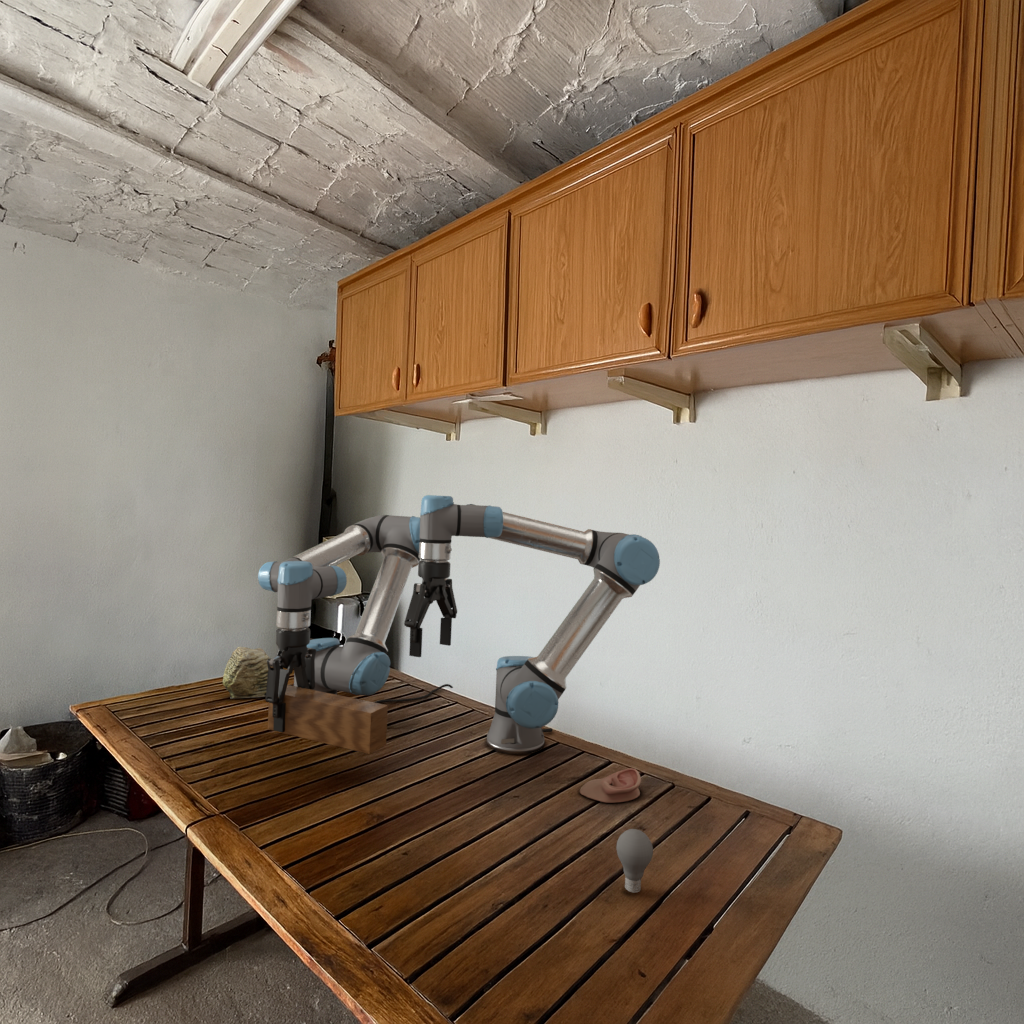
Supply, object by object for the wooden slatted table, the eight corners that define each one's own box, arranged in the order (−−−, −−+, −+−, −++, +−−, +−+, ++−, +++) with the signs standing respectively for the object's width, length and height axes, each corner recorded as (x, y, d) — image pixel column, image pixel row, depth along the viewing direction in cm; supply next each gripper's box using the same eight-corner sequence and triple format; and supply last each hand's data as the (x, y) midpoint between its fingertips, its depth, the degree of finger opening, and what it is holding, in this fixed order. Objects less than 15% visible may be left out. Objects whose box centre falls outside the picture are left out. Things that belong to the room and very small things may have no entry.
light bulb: (610, 879, 108) (613, 822, 108) (644, 879, 109) (647, 822, 109) (619, 902, 102) (622, 840, 102) (655, 901, 103) (658, 840, 103)
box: (267, 729, 147) (268, 691, 147) (286, 721, 152) (288, 684, 152) (369, 754, 135) (371, 713, 135) (386, 744, 141) (387, 705, 141)
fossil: (218, 695, 195) (220, 647, 195) (278, 685, 208) (279, 640, 207) (228, 703, 189) (230, 653, 188) (289, 692, 201) (290, 645, 201)
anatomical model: (578, 780, 137) (583, 760, 149) (577, 799, 137) (582, 776, 149) (641, 789, 135) (641, 767, 146) (640, 807, 135) (640, 784, 146)
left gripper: (275, 637, 137) (271, 743, 138) (333, 623, 155) (329, 716, 155) (249, 633, 140) (245, 736, 141) (309, 619, 158) (305, 711, 158)
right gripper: (419, 566, 136) (415, 664, 137) (473, 558, 159) (469, 642, 160) (390, 563, 139) (386, 659, 140) (446, 556, 162) (443, 638, 163)
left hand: (289, 725), depth 148 cm, fingers closed on box, 6 cm apart
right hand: (430, 650), depth 150 cm, fingers open, 13 cm apart
